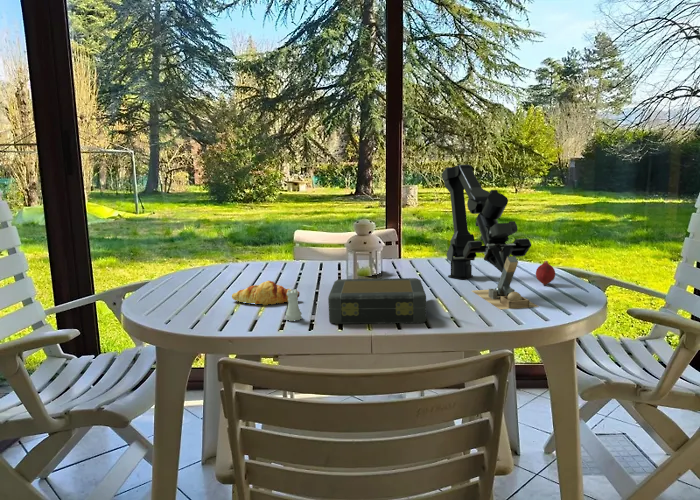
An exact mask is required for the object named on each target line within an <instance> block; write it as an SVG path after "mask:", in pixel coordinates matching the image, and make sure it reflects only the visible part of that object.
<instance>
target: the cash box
mask: <svg viewBox="0 0 700 500" xmlns="http://www.w3.org/2000/svg"><path fill="white" fill-rule="evenodd" d="M424 289H425V288H424V286H423V284H422V280H421V279H419V278H416V277H409V278H407V277H405V278H403V277H402V278H398V277H397V278H342V279H341V278H340V279H336V280H335V281H334V282H333V285H332V287H331V289H330V292H329V294H328V297H327V298H328V299H327V300H328V321H329V323H330V324H331V323H335V324H334V325H361V324H360V323H366V324H365V325H370V324H371V325H372V324H373V325H377V324H378V323H397V325H398V323H404V324H424V323H426V322H427V295H426V292H425V290H424Z"/></svg>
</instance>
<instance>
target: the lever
mask: <svg viewBox="0 0 700 500" xmlns="http://www.w3.org/2000/svg"><path fill="white" fill-rule="evenodd" d="M518 264H519V260H518V258H517V257H515V256H513V255H511V256H509V257H507V258H506V261H505V264H504V268H503V271H502V273H501V275H500V278H499V282H498V284H497V287H495V288H494V289H495V290H496V291H497V297H498V296H508V295H509V294H510V293H511V292H513V291H512V289H513V288H512V287H511V283H512V280H513V278H514V275H515V272H516V269H517V267H518ZM511 288H512V289H511Z"/></svg>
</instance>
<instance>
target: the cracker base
mask: <svg viewBox="0 0 700 500" xmlns="http://www.w3.org/2000/svg"><path fill="white" fill-rule="evenodd" d="M511 289H512V291H513V292H516V291H515V289H514V288H512V287H511ZM471 292H472V293H473V294H475V295H477V296H479V297H480V298H481V299H483V300H484V301H486V302H488V303H489V304H491V305H492V306H493V307H495V308H497V309H499V310H511V309H512V310H513V309H523V308H525V309H526V308H539V307H540V305H537V304H536V303H533V302H531V300H529V299H528V298H526V297H524V296H522V295H521V297H522V300H520V301H509V300H508V296H498V297H497V291H496V290H495V288H488V289H479V290H475V289H473V290H471Z"/></svg>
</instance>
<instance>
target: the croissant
mask: <svg viewBox="0 0 700 500" xmlns="http://www.w3.org/2000/svg"><path fill="white" fill-rule="evenodd" d="M291 289H292V288H286V287H284V286H283V285H279V284H276V283H275V281H272V280H266V281H263V282H261V283H260V284H255V285H249V286H248V287H247V288H244V289H239V290H237V292H233V293H232V294H231V298H232V299H233V300H234V301H236V300H237V301H236V302H238V301H239V302H238V303H240V302H246V303H255V304H263V305H262V306H269V305H268V304H271V305H276V303H277V304H278V303H279V304H285V303H284V302H287V303H288V296H287V293H288V290H290V291H291ZM297 292H298V293H299V294H298V296H297V298H298V299H299V297H300V291H299V290H297Z"/></svg>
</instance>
